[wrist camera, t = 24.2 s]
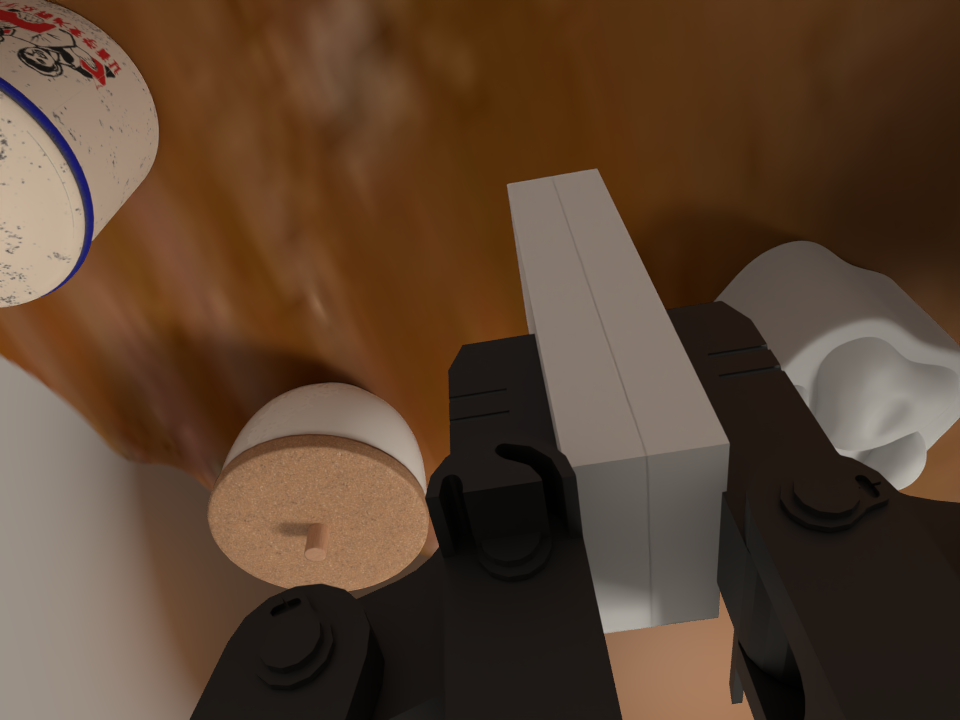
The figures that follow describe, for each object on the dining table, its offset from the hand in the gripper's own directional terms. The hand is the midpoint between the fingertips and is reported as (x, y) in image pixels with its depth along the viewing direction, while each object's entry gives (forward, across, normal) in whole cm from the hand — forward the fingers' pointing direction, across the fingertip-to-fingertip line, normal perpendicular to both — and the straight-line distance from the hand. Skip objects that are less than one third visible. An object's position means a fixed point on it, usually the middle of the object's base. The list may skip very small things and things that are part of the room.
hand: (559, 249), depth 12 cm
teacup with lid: (+21, +20, 0) cm, 29 cm away
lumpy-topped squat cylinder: (+21, -13, +20) cm, 32 cm away
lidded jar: (+21, +12, +20) cm, 31 cm away
